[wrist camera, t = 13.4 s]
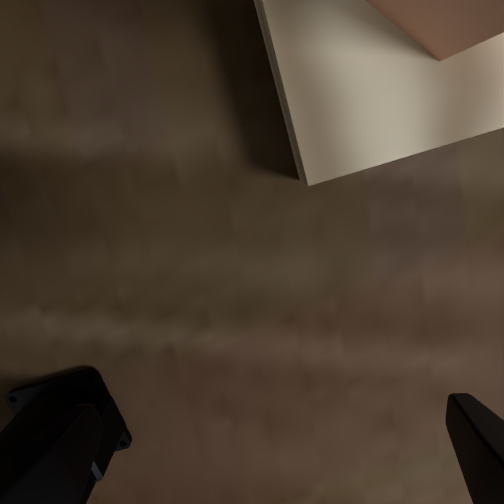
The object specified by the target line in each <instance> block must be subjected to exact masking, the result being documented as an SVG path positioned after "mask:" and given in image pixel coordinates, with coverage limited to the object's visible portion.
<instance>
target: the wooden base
mask: <svg viewBox="0 0 504 504" xmlns="http://www.w3.org/2000/svg"><path fill="white" fill-rule="evenodd" d="M254 3H255V7H256V11H257V15H258V19H259V23H260V27H261V31H262V34H263V38H264V42H265V46H266V50H267V54H268V58H269V62H270V66H271V70H272V74H273V78H274V81H275V85H276V89H277V93H278V97H279V101H280V105H281V109H282V113H283V117H284V121H285V125H286V128H287V132H288V136H289V140H290V144H291V148H292V152H293V156H294V160H295V164H296V168H297V172H298V175H299V179H300V181H302V182H303V183H305V184H306V185H308V186H310V185H313V184H317V183H320V182H323V181H327V180H330V179H333V178H337V177H340V176H343V175H347V174H350V173H353V172H357V171H360V170H363V169H367V168H370V167H373V166H377V165H380V164H383V163H387V162H390V161H393V160H397V159H400V158H403V157H407V156H410V155H413V154H417V153H420V152H423V151H427V150H430V149H433V148H437V147H440V146H443V145H446V144H450V143H453V142H456V141H460V140H463V139H466V138H470V137H473V136H476V135H480V134H483V133H486V132H490V131H493V130H496V129H500V128H503V127H504V32H503V33H501V34H499V35H497V36H495V37H492V38H490V39H488V40H486V41H484V42H481V43H479V44H477V45H475V46H473V47H470V48H468V49H466V50H464V51H462V52H460V53H457V54H455V55H453V56H451V57H449V58H446V59H444V60H442V61H439V60H438V59H437V58H436V57H435V56H433V55H432V54H431V53H430V52H428V51H427V50H426V49H425V48H423V47H422V46H421V45H420V44H419V43H417V42H416V41H415V40H414V39H412V38H411V37H410V36H409V35H407V34H406V33H405V32H404V31H402V30H401V29H400V28H399V27H398V26H396V25H395V24H394V23H393V22H391V21H390V20H389V19H388V18H386V17H385V16H384V15H383V14H382V13H380V12H379V11H378V10H377V9H375V8H374V7H373V6H372V5H370V4H369V3H368V2H367V1H365V0H254Z"/></svg>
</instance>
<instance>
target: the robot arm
mask: <svg viewBox="0 0 504 504" xmlns="http://www.w3.org/2000/svg"><path fill="white" fill-rule="evenodd" d="M89 376H92V377H93V378H90V377H89ZM15 397H16V398H15ZM5 399H6V402H7V403H8V405H9V407H10V408H11V410H12V412H13V413H14V415H15V417H14V418H13V419H12V420H11V422H10V423H9V424H8V425H7V426H6V427H5V428H4V430H3V431H2V432H1V433H0V504H86V503H87V500H88V498H89V496H90V494H91V492H92V490H93V488H94V485H95V483H96V482H98V481H101V479H102V478H103V476H104V474H105V471H106V469H107V467H108V465H109V462H110V460H111V458H112V456H113V453H114V452H115V451H119V450H123V449H127V448H128V447H129V446H130V444H131V442H132V437H131V435H130V433H129V431H128V429H127V427H126V423H125V421H124V419H123V417H122V416H121V414H120V412H119V410H118V408H117V406H116V404H115V402H114V400H113V398H112V397H111V395H110V393H109V391H108V389H107V387H106V385H105V383H104V381H103V379H102V377H101V375H100V373H99V372H98V371H97V370H95V369H86V370H83V371H79V372H75V373H72V374H68V375H64V376H60V377H57V378H53V379H49V380H46V381H42V382H38V383H35V384H31V385H27V386H24V387H20V388H16V389H13V390H11V391H10V392H9V393H8V394H7V395H6V397H5ZM446 426H447V430H448V433H449V436H450V439H451V441H452V444H453V447H454V450H455V453H456V456H457V459H458V462H459V465H460V468H461V471H462V473H463V476H464V479H465V482H466V485H467V488H468V491H469V493H470V496H471V499H472V502H473V504H504V420H503V419H501V418H500V417H499V416H497V415H496V414H495V413H494V412H492V411H491V410H490V409H488V408H487V407H486V406H485V405H483V404H482V403H481V402H479V401H478V400H477V399H476V398H474V397H473V396H472V395H470V394H468V393H452V394H450V395H449V396H448V401H447V410H446ZM124 441H126V442H124Z"/></svg>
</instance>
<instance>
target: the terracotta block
mask: <svg viewBox="0 0 504 504" xmlns="http://www.w3.org/2000/svg"><path fill="white" fill-rule="evenodd" d="M365 1H367V2H368V3H369V4H370V5H372V6H373V7H374V8H375V9H377V10H378V11H379V12H380V13H382V14H383V15H384V16H385V17H386V18H388V19H389V20H390V21H391V22H393V23H394V24H395V25H396V26H398V27H399V28H400V29H401V30H402V31H404V32H405V33H406V34H407V35H409V36H410V37H411V38H412V39H414V40H415V41H416V42H417V43H419V44H420V45H421V46H422V47H423V48H425V49H426V50H427V51H428V52H430V53H431V54H432V55H433V56H435V57H436V58H437V59H438V60H439V61H442V60H444V59H446V58H449V57H451V56H453V55H455V54H457V53H460V52H462V51H464V50H466V49H468V48H470V47H473V46H475V45H477V44H479V43H481V42H484V41H486V40H488V39H490V38H492V37H495V36H497V35H499V34H501V33H503V32H504V0H365Z"/></svg>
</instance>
